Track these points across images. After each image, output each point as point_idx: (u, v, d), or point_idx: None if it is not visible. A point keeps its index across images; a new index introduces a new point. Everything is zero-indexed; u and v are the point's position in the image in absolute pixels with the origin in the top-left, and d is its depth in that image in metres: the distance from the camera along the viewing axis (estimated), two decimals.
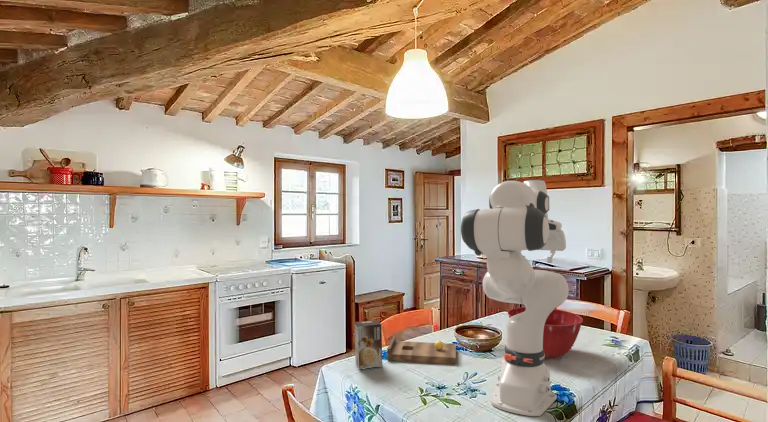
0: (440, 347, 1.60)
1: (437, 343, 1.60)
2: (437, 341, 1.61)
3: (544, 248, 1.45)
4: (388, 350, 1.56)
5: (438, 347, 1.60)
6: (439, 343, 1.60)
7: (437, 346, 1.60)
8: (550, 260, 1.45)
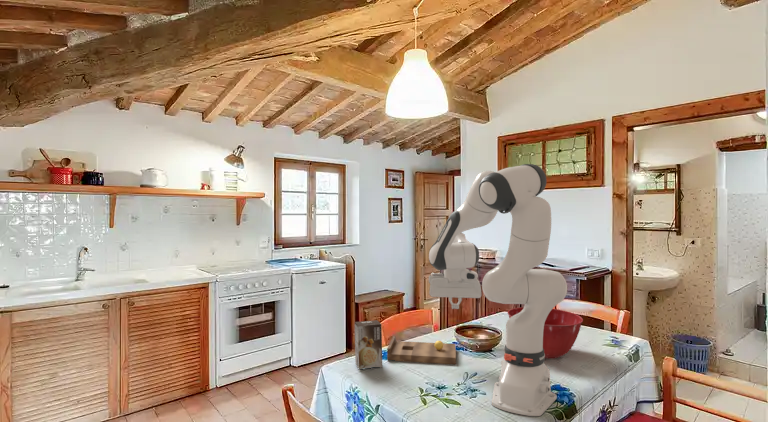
0: (440, 347, 1.60)
1: (437, 343, 1.60)
2: (437, 341, 1.61)
3: (463, 296, 1.58)
4: (388, 350, 1.56)
5: (438, 347, 1.60)
6: (439, 343, 1.60)
7: (437, 346, 1.60)
8: (458, 306, 1.59)
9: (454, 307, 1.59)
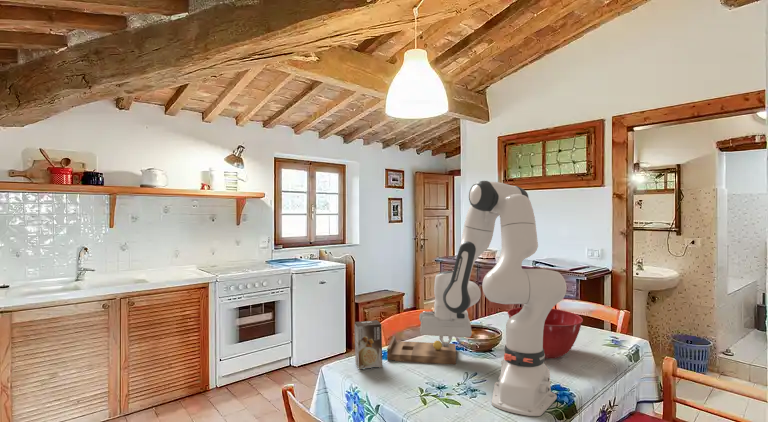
0: (439, 346, 1.60)
1: (435, 343, 1.60)
2: (435, 341, 1.61)
3: (454, 335, 1.59)
4: (388, 350, 1.56)
5: (437, 347, 1.60)
6: (437, 343, 1.60)
7: (436, 346, 1.60)
8: (448, 345, 1.60)
9: (445, 345, 1.60)
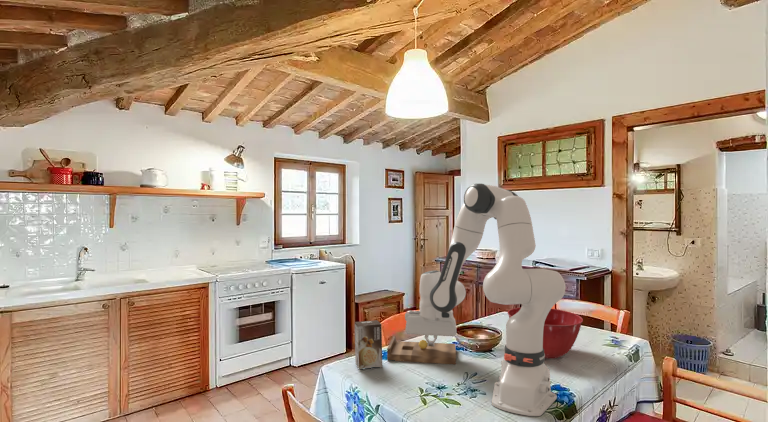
0: (420, 345, 1.61)
1: (425, 347, 1.61)
2: None
3: (439, 334, 1.60)
4: (388, 350, 1.56)
5: (422, 344, 1.61)
6: (423, 348, 1.61)
7: (423, 345, 1.61)
8: (433, 344, 1.61)
9: (430, 345, 1.61)
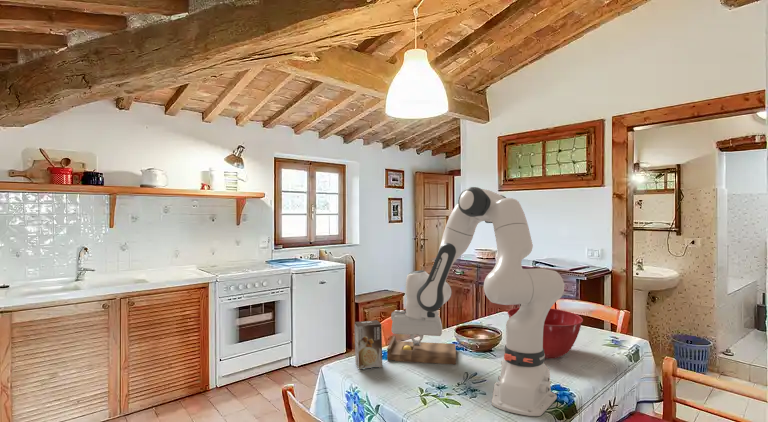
0: (407, 349, 1.62)
1: None
2: None
3: (424, 333, 1.60)
4: (388, 350, 1.56)
5: None
6: None
7: None
8: (419, 344, 1.62)
9: (415, 344, 1.62)
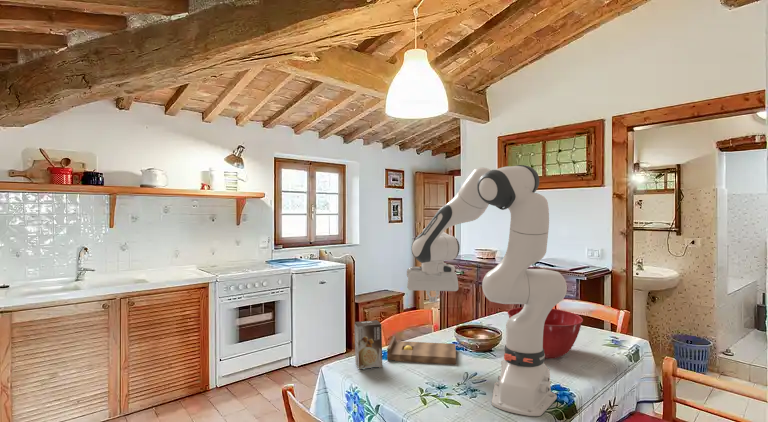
0: (408, 349, 1.62)
1: None
2: None
3: (440, 289, 1.59)
4: (388, 350, 1.56)
5: None
6: None
7: None
8: (435, 300, 1.60)
9: (432, 300, 1.61)
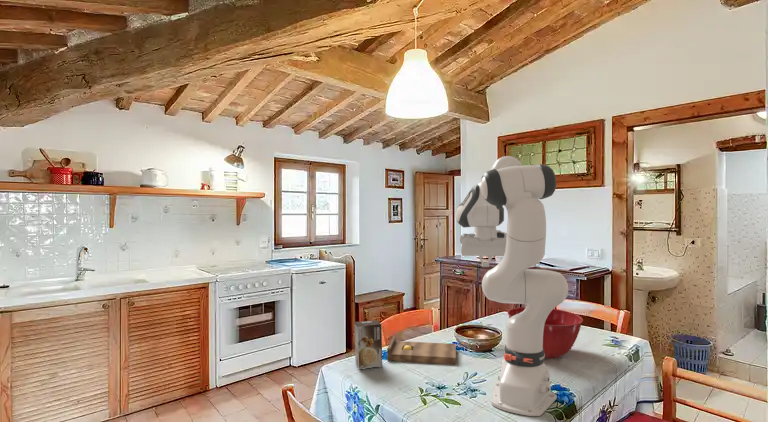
0: (407, 349, 1.62)
1: None
2: None
3: (493, 254, 1.67)
4: (388, 350, 1.56)
5: None
6: None
7: None
8: (488, 264, 1.69)
9: (484, 265, 1.69)
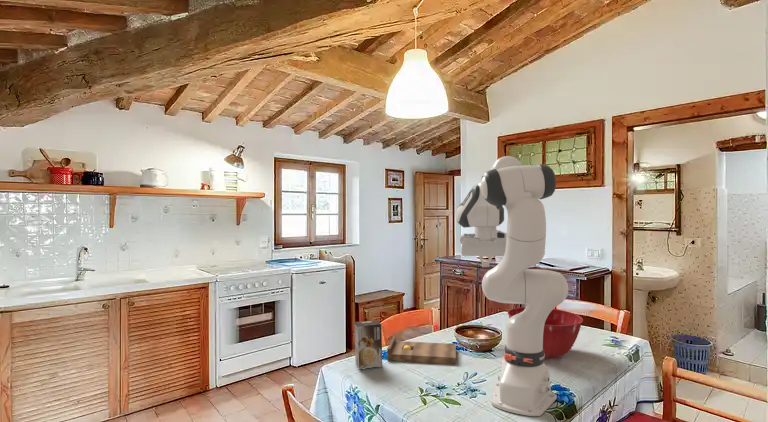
0: (406, 349, 1.62)
1: None
2: None
3: (494, 254, 1.67)
4: (388, 350, 1.56)
5: None
6: None
7: None
8: (488, 264, 1.69)
9: (485, 265, 1.69)
